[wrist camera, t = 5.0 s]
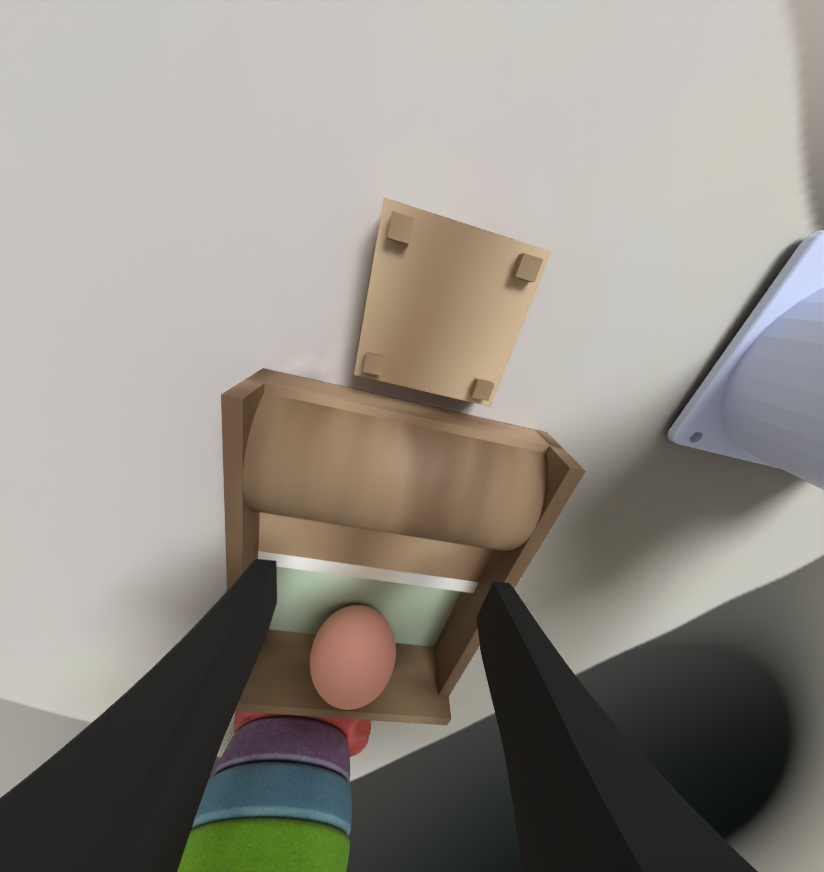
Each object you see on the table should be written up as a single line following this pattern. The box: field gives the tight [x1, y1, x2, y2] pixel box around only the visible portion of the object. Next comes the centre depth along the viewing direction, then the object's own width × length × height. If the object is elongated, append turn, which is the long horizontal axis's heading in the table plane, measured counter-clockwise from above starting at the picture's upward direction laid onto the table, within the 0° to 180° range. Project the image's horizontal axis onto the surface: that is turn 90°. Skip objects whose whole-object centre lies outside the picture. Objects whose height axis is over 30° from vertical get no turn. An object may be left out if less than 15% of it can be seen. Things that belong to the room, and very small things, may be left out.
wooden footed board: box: [354, 198, 551, 407], centre depth 10 cm, size 5×5×2 cm
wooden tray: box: [221, 368, 585, 725], centre depth 15 cm, size 12×17×7 cm
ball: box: [310, 605, 396, 710], centre depth 16 cm, size 4×4×4 cm
